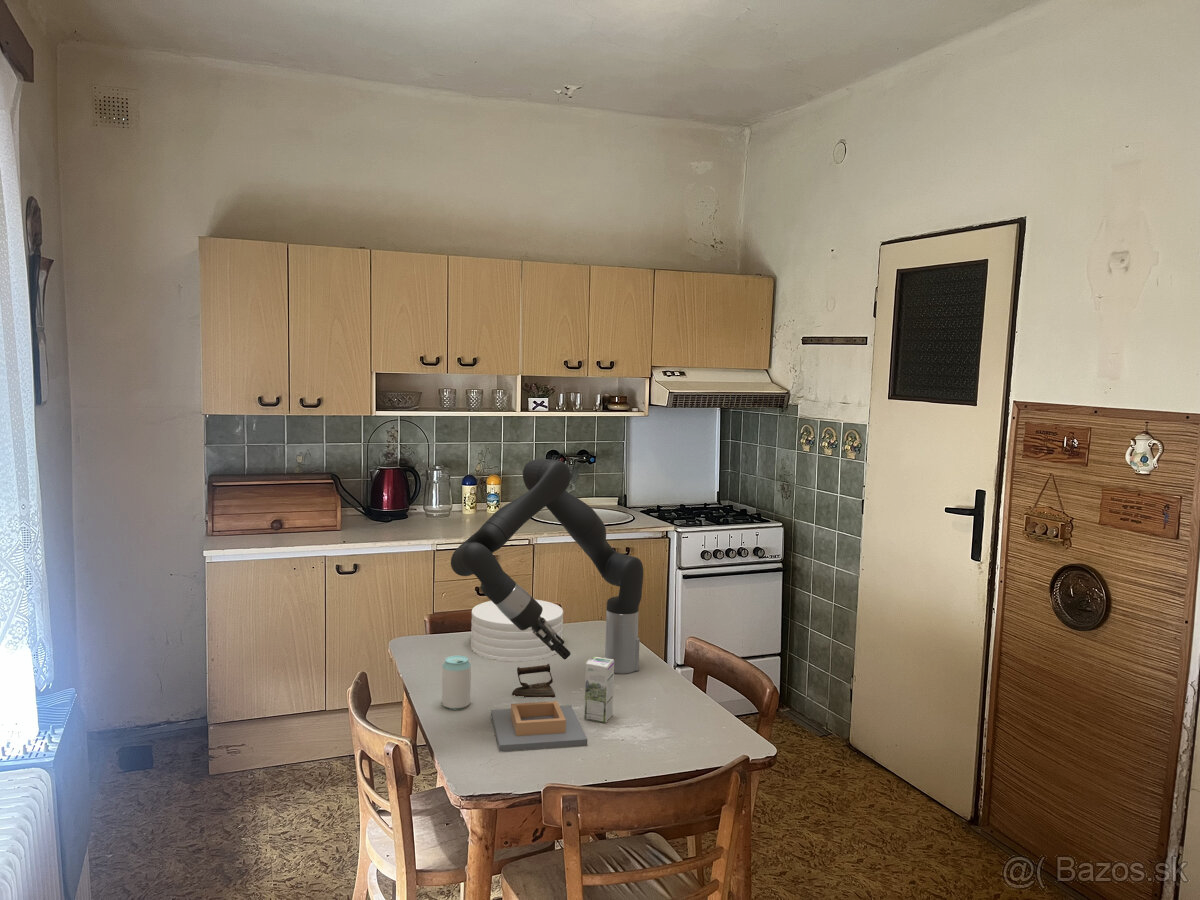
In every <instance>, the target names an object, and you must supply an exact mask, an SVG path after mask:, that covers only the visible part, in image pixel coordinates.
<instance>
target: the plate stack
mask: <svg viewBox="0 0 1200 900" xmlns="http://www.w3.org/2000/svg"><path fill="white" fill-rule="evenodd" d="M535 600H536V601H537V602H538V603H539V604H540V605H541V606H542V608H543V610H542V613H541V615H540V616H541V617H543V618H544V619H545V620H546V621H547V622H548V623H549V624H550V625H551V626H552V627H551V628H553V629H554V632H555V633H556V634H557V635H558V636H559V637H560V638H561V639H562V640H563V631H564V627H563V624H564V618H563V617H564V609H563V608H562V607H561V606H559V605H558V604H556V603H553V602H550V601H546V600H541V599H535ZM531 628H532V627H529V628H528V629H526V630H520V629H519V628H518V627H517V626H516V625H514V624H513V623H512V622H511V621H510V620H509V619H508V618H507V617H506V616H505V615H504V614H503V613H502V612H501V611H500V610H499V608H498V607H497V606H496V605H495V604H494V603H493V602H492V601H491V600H488V601H485V602H482V603H479V604H477V605H475V606H474V607H473V608H472V609H471V630H470V631H471V635H470V639H471V640H470V641H471V644H470V649H471V648H472V649H471V651H472V650H473V651H474V652H476V653H477V654H479V655H482V656H485V657H488V658H492V659H491V660H493V659H499V660H507V661H506V662H509V661H523V662H529V661H528V660H534V661H538V660H537V659H540V660H543V659H542V658H545V659H547V658H546V657H548V658H550V657H549V656H551V657H553V656H552V655H554V654H556V653H557V652H556V651H555V650H554V651H551V650H550V648H549V647H548V646H547V645H546V644H544V643H543V642H542V641H541V639H540V638H539V637H537V636H536V635H535V634H534V633H533V631H532V629H531ZM550 644H551V645H553V643H552V642H551V641H550ZM473 651H472V652H473ZM476 653H475V654H476ZM477 654H476V655H477ZM557 654H558V653H557ZM557 654H556V655H557ZM479 655H478V656H479ZM482 656H481V657H482ZM554 656H555V655H554ZM485 657H484V658H485ZM488 658H487V659H488ZM499 660H498V661H499Z"/></svg>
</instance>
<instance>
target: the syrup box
mask: <svg viewBox="0 0 1200 900" xmlns="http://www.w3.org/2000/svg"><path fill="white" fill-rule="evenodd" d="M614 675H615V674H614V660H613V659H607V658H605V657H598V656H592V657H590V658H589V659H588V660H587V661H586V663H585V683H584V687H585V688H584V716H583V718H584V720H587V721H593V722H599V723H604V724H606V723H607V722H608V721H609V720H610V718H611V717H612V716H613V712H614V711H613V710H614V709H613V708H614V707H613V703H614V701H613V700H614V678H615V677H614ZM611 715H612V716H611ZM608 719H609V720H608ZM607 720H608V721H607Z"/></svg>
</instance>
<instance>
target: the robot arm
mask: <svg viewBox="0 0 1200 900" xmlns="http://www.w3.org/2000/svg"><path fill="white" fill-rule="evenodd" d="M571 477H572V476H571V470H570V468H569V465H568V464H566V463H565V462H564V461H562V460H559V459H558V460H557V459H548V458H547V459H546V458H544V459H543V458H536V459H532V460H529V461H528V462H526V464H525V465H524V466H523V471H522V480H523V483H524V485H525V487H526V489H527V490H528V491H527V492H525V493H524V494H522V495H521V496H519V497H518V498H515V499H514V500H512V501H510V502H508V503H506V504H505V505H503V506H502V507H500V508H499V509H498V510H497V511H495V512H494V513H492V515H491V516H490V517H489V518H488V519H487V520H486V521H485V522H484V524H482V525H481V526H480V528H479V529H478V530H477V531H476V532H475V533H473V534H472V535H471V536H470V537H468V538H467V539H466V540H465V541H464V542H462V544H460V545H459V546H458V547H457V548H456V549H455V550H454V552H453V553H452V555H451V557H450V567H451V569H452V571H453V572H454V573H455V574H456V575H458V576H460V577H469V576H473V575H475V576H476V578H477V580H478V581H479V582H480V589H481V592H482V593H483V594H484V595H485V596H486V597H487V598H488V599H489V601H492V602H493V603H494V604H495V605H496V606H497V607H498V608H499V610H500V611H501V612H502V613H503V614H504V615H505V616H506V617H507V618H508V619H509V620H510V621H511V622H512V623H513V624H514V625H516V626H517V627H518V628H519V629H520V630H526V629H528V628H529V627H532V628H531V629H532V631H533V633H534V634H535V635H536V636H537V637H539V638H540V639H541V641H542V642H543V643H544V644H546V645H547V646H548V647H549V648H550V650H551V651H554V650H555V651H556V652H557V654H558V655H559V657H561V658H562V659H563V660H567V659H568V658H569V657H570V656H571V652H570V650H569V649H568V648H567V647H565V646H564V644H565V641H564V639H563V638H562V639H561V638H560V637H559V636H558V635H557V634H556V633H555V632H554V629H553V628H551V627H552V626H551V625H550V624H549V623H548V622H547V621H546V620H545V619H544V618H543V617H541V616H540V615H541V613H542V610H543V608H542V606H541V605H540V604H539V603H538V602H537V601H536V600H537V599H535V598H534V597H533V596H532V595H531V594H529V592H528V591H527V590H526V589H524V588H523V587H522V586H521V585H519V584H518V583H517V582H515V580H514V579H513V578H512V577H511V576H509V575H508V573H507V572H505V571H504V570H503V568H502V566H501V564H500V562H499V561H498V559H497V558H496V557H495V555H494V554H493V553H495V552H496V551H499V550H500V549H501V548H502V547H504V545H506V543H507V542H508V541H509V540H510V539H511V538H513V536H514V535H515V534H516V533H517V532H518V531H519V529H520V528H521V527H522V526H524V525H525V524H526V523H527V522H528V521H529V520H530V519H531V518H533V517H534V516H535V515H536V514H538V513H539V512H540V511H541V510H543V509H544V508H545V507H546V508H547V510H548V511H550V513H551V514H552V515H553V516H554V518H555V519H556V520H557V521H558V522H559V524H561V526H562V527H563V528H564V529H565V530H566V532H567V533H568V535H570V536H571V538H572V539H573V540H574V542H575V543H576V544H577V545H578V546H579V547H580V548H581V550H582V551H583V552H584V553H585V555H587V556H588V558H589V559H590V560H591V562H592V563H593V564H594V566H595V568H596V569H597V571H598V573H599V574H600V575H601V577H602V578H603V580H604V581H605V582H606V583H608V584H610V585H611V586H616V587H619V590H618V595H616V596H612V597H609V598H608V599H607V600H606V611H605V612H606V613H605V614H606V617H605V642H604V643H605V645H604V646H605V649H604V658H607V659H613V660H614V673H615V674H630V673H633V672H638V671H639V669H640V667H639V666H640V665H639V664H640V644H641V643H640V637H639V633H638V632H639V609H640V604H641V601H642V595H643V583H644V565H643V563H642V560H641V559H640V558H638V557H636V556H632V555H628V554H624V553H621V552H619V551H616V549H614V548H613V547H612V546H611V544H609V542H608V541H607V528H606V526H605V523H604V522H603V521H602V520H603V519H601V517H600V516H599V515H598V514H597V512H596V511H595V510H594V509H593V508H592V507H591V506H590V505H588V504H587V503H586V502H584V501H582V500H581V499H580V498H578V497H576V496H575V495H573V494H571V493H570V492H569V491H567V489H568V488H569V486H570V483H571ZM550 641H551V642H552V643H553V645H551V644H550Z"/></svg>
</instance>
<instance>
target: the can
mask: <svg viewBox="0 0 1200 900" xmlns="http://www.w3.org/2000/svg"><path fill="white" fill-rule="evenodd" d="M444 660H445V661H444V662H443V664H442V674H441V675H442V680H441V681H442V682H441V683H442V684H441V689H442V690H441V694H442V695H441V705H443V706H444V707H445V708H446V707H447V708H446V709H448V708H450V709H449V710H454V709H456V710H461V709H460V708H462V709H465V708H467V706H469V705H470V704H471V691H472V690H471V686H472V685H471V680H472V678H471V677H472V664H471V662H470V661H469V658H468V657H467V656H464V655H451V656H450V655H449V656H447V657H446V658H445V659H444ZM464 707H465V708H464Z"/></svg>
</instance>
